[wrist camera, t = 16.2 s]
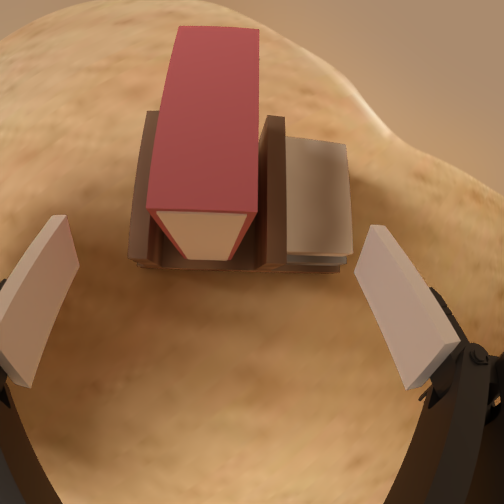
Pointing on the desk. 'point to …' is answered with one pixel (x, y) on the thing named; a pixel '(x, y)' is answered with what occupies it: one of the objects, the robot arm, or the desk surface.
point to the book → (207, 142)
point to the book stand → (265, 209)
